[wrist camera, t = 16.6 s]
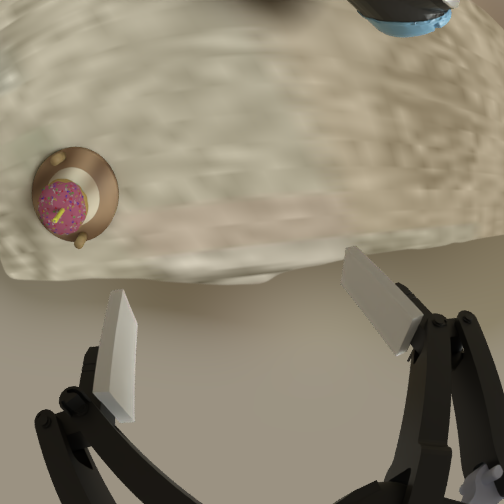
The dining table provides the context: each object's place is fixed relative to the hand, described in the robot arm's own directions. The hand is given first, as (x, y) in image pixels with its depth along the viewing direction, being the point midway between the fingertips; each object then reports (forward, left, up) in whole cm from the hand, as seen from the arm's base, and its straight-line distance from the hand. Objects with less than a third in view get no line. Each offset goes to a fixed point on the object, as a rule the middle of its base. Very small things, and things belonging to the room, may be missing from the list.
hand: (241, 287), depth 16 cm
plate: (-10, -19, -32) cm, 38 cm away
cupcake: (-10, -19, -30) cm, 37 cm away
